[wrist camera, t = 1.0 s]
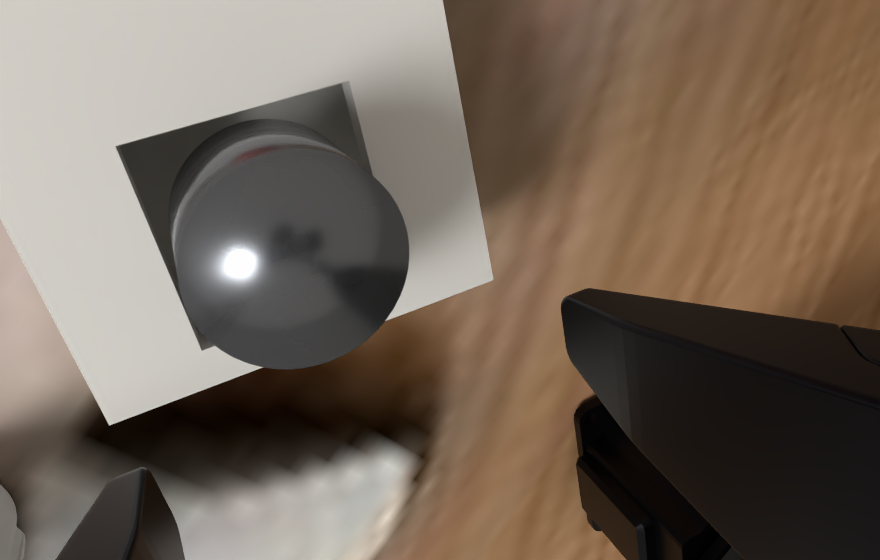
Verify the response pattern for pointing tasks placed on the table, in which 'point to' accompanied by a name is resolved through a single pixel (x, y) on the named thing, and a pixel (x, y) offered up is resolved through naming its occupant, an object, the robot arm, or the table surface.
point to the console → (184, 128)
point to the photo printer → (10, 529)
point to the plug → (284, 245)
